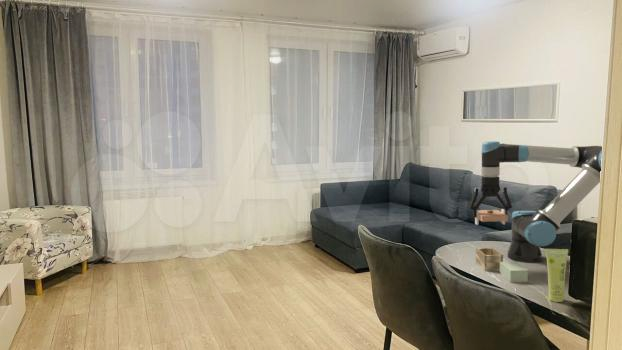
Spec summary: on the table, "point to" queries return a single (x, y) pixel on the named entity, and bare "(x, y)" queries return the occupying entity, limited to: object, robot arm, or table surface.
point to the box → (488, 259)
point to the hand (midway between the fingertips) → (489, 224)
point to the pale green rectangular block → (513, 272)
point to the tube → (556, 273)
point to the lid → (492, 215)
